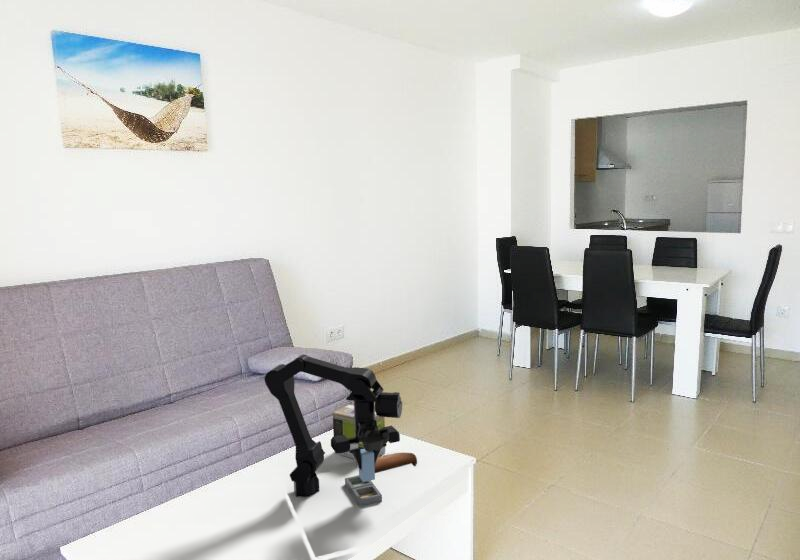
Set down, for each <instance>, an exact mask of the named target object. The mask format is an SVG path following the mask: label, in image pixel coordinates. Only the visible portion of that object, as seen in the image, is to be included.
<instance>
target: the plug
mask: <svg viewBox="0 0 800 560" xmlns="http://www.w3.org/2000/svg"><path fill="white" fill-rule="evenodd" d="M360 450H361V452H360V458H361V470H360V469H359V468H358V475H359V477H360V479H361V480H362V481H363V482H364V483H365V482H366V481H370V480H371V481H374V480H376V473H375V468H374V452H373V451H370V452H368V451H366V450H365V449H360Z"/></svg>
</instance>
